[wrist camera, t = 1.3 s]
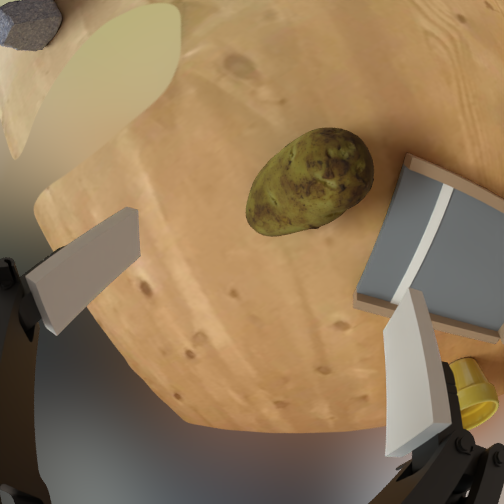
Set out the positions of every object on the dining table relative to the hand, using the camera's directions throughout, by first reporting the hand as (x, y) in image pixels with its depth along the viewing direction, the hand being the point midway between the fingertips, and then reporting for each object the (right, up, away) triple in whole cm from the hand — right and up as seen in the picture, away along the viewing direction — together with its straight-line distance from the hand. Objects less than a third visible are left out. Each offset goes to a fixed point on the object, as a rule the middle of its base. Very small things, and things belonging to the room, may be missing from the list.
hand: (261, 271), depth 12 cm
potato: (+5, +9, +14) cm, 17 cm away
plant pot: (+33, -18, +20) cm, 43 cm away
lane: (+24, 0, +13) cm, 27 cm away
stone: (-33, +37, +11) cm, 51 cm away
